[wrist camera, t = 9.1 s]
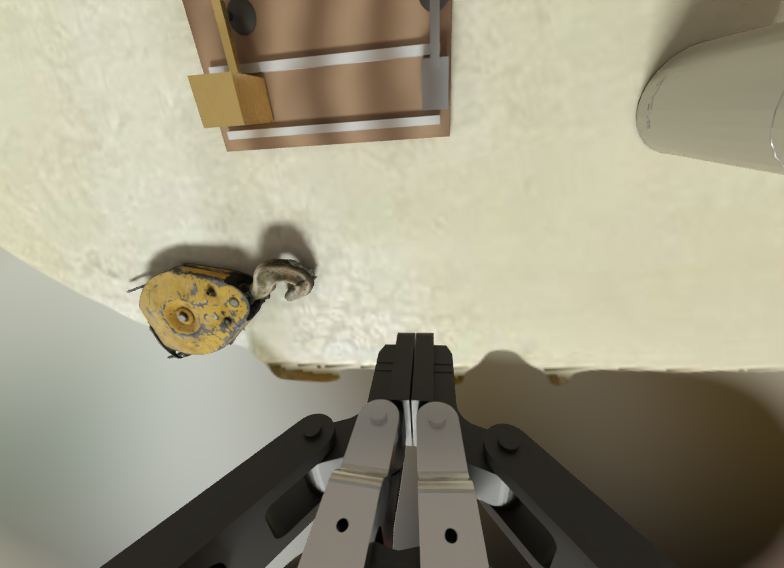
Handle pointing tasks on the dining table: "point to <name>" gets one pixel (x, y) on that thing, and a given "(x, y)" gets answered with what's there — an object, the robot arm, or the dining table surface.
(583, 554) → the robot arm
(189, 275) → the pulley block
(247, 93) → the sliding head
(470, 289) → the dining table surface
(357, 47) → the gauge board
